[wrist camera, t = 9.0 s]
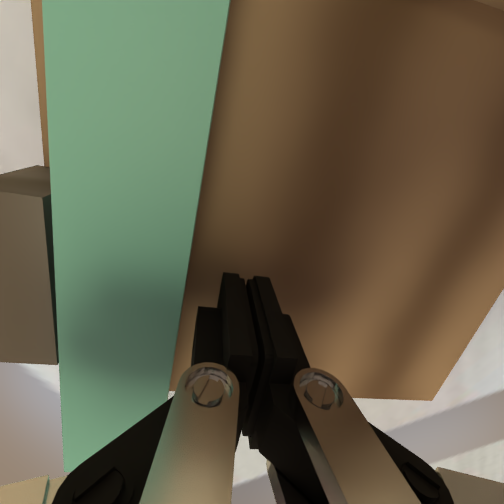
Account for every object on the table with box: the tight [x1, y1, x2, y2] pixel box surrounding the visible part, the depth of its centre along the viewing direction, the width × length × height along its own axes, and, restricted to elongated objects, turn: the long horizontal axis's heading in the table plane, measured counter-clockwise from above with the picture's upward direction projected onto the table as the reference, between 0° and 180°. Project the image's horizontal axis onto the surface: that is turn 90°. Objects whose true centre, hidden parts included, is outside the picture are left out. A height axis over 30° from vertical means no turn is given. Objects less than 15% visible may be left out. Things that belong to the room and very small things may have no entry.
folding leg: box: [42, 0, 231, 472], centre depth 8 cm, size 19×3×3 cm, turn 167°
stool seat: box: [0, 0, 504, 401], centre depth 10 cm, size 19×20×6 cm
